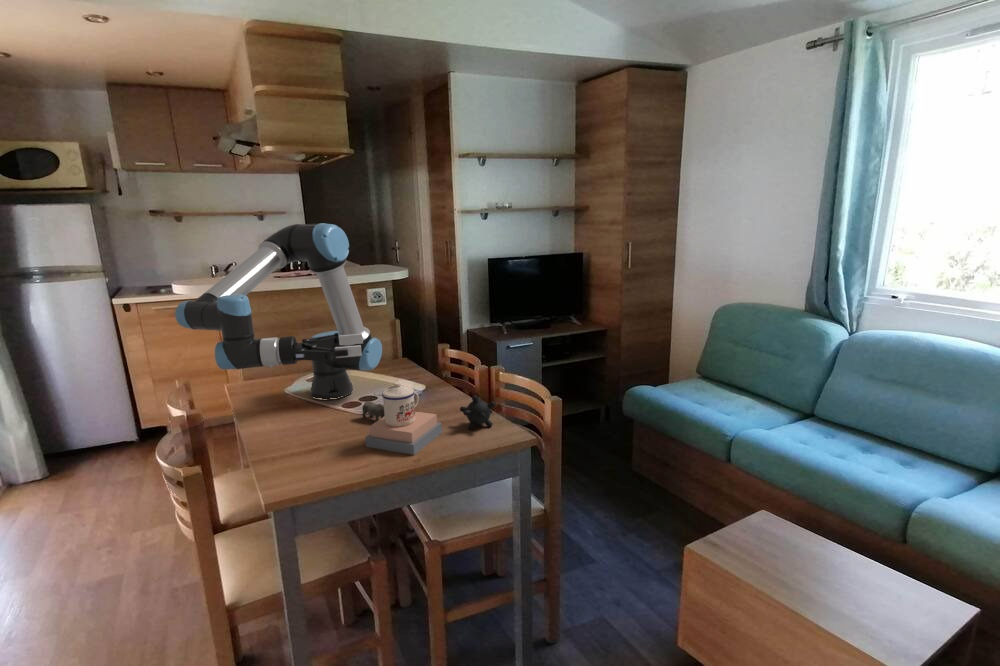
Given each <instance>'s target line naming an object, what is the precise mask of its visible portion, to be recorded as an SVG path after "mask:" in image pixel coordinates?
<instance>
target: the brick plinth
mask: <svg viewBox="0 0 1000 666" xmlns="http://www.w3.org/2000/svg"><path fill="white" fill-rule="evenodd" d="M437 416H438V414H437V413H436V414H435V413H429V412H421V411H415V421H414V422H413V423H411V424H409V425H406V426H400V427H393V426H389V425H387V424H386V423H385V417H383V418H382V419H381V418H380V419H378V421H377V422H375V421H374V422H373V423H372V424H371V425H369V426H368V427H369V428H368V429H369V434H367V435H366V436H365V437H364V439H365V440H364V441H365V447H366V448H371V449H377V450H383V451H388V452H394V453H399V454H406V455H412V456H415V455H417V454H418V453H419V452H420V451H421V450H423V449H424V448H425V447H426V446H428V444H430V443H431V442H433V440H435V439H436V438H437V437H438V436H440V435H441V434H442V433H443V424H442V422H439V421H438V419H437V418H438V417H437Z"/></svg>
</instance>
